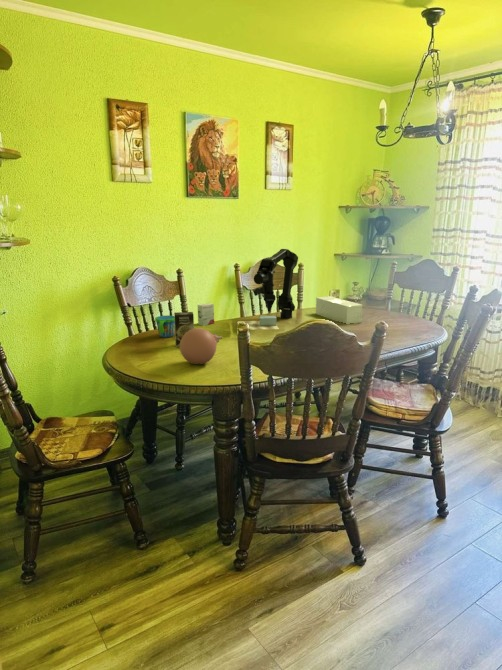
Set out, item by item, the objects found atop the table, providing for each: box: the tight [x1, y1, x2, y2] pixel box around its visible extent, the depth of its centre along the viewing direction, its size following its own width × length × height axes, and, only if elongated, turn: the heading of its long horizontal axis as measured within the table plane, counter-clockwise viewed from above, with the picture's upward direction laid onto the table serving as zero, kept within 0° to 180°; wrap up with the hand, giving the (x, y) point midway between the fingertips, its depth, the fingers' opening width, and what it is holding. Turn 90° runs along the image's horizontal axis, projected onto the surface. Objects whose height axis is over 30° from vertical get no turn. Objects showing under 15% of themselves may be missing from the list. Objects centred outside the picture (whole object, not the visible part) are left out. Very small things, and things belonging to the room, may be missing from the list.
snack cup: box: [154, 314, 175, 339], centre depth 234 cm, size 16×10×10 cm
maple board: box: [236, 320, 280, 331], centre depth 251 cm, size 22×20×2 cm
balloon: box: [179, 327, 223, 365], centre depth 191 cm, size 15×20×15 cm
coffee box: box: [173, 311, 195, 348], centre depth 216 cm, size 9×6×16 cm
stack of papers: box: [315, 295, 363, 325], centre depth 273 cm, size 32×11×11 cm, turn 26°
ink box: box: [197, 302, 215, 327], centre depth 259 cm, size 9×5×12 cm, turn 129°
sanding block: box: [259, 315, 278, 326], centre depth 251 cm, size 9×6×4 cm, turn 94°
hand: (268, 309), depth 249 cm, fingers open, 9 cm apart
